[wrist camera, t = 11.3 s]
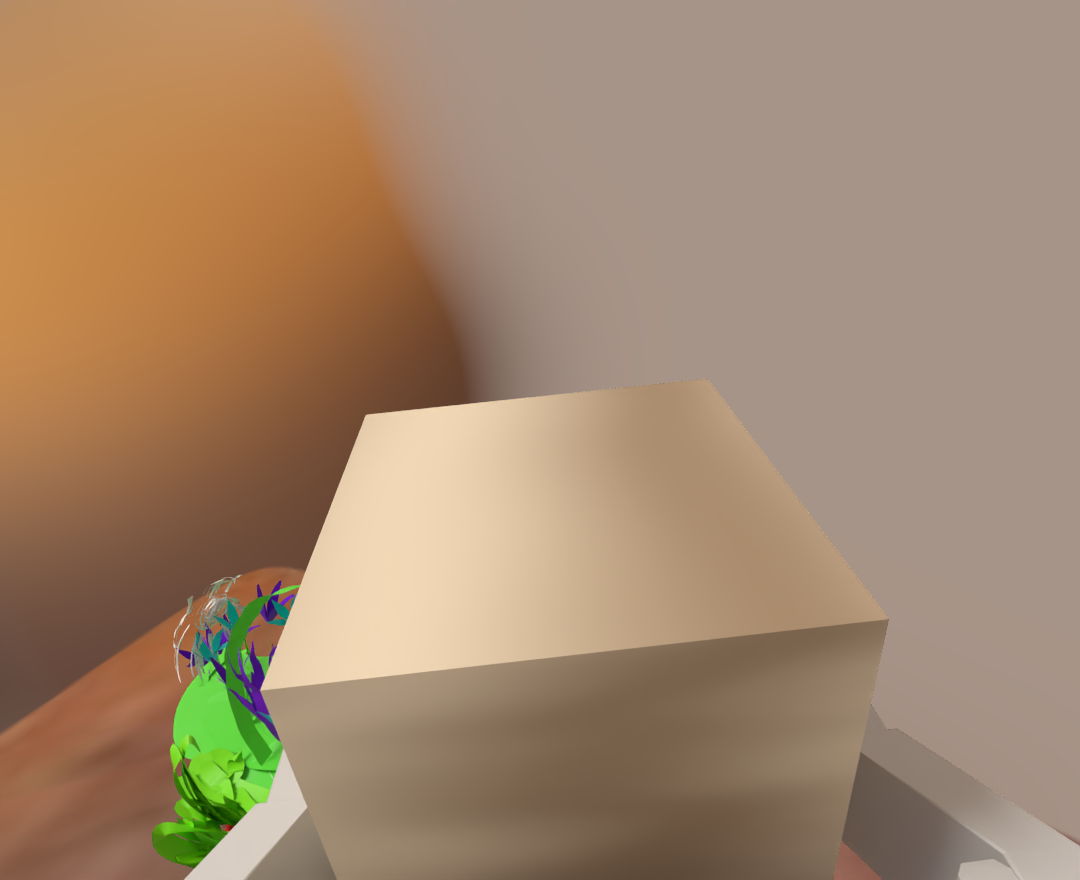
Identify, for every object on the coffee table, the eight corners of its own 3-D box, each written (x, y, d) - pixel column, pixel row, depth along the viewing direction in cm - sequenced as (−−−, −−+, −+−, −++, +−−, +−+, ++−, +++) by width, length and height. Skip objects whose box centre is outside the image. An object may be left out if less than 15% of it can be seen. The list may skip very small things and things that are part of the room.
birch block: (450, 1160, 10) (260, 689, 5) (463, 829, 14) (366, 415, 10) (781, 1118, 10) (889, 619, 5) (692, 803, 14) (707, 379, 10)
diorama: (364, 1100, 23) (264, 907, 17) (86, 818, 33) (-35, 638, 27) (567, 781, 33) (548, 589, 27) (305, 640, 43) (249, 479, 37)
